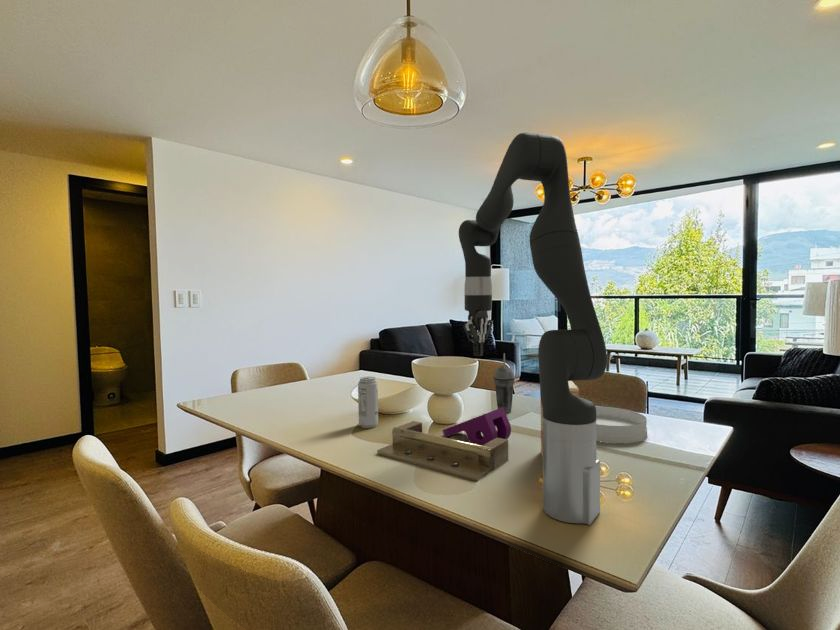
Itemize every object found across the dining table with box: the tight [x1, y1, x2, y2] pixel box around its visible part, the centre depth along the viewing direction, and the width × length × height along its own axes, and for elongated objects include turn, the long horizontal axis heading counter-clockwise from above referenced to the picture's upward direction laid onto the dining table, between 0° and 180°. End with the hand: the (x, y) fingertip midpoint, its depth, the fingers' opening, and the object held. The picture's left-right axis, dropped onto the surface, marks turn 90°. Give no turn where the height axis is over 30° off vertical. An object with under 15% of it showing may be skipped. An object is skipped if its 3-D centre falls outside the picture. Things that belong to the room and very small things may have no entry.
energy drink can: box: [357, 376, 379, 429], centre depth 137 cm, size 6×6×15 cm
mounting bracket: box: [441, 407, 512, 445], centre depth 121 cm, size 9×8×18 cm
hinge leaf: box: [376, 420, 509, 482], centre depth 109 cm, size 29×15×5 cm, turn 53°
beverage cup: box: [493, 352, 516, 414], centre depth 152 cm, size 7×7×20 cm
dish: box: [595, 405, 648, 444], centre depth 128 cm, size 22×22×5 cm
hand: (478, 355), depth 123 cm, fingers closed
